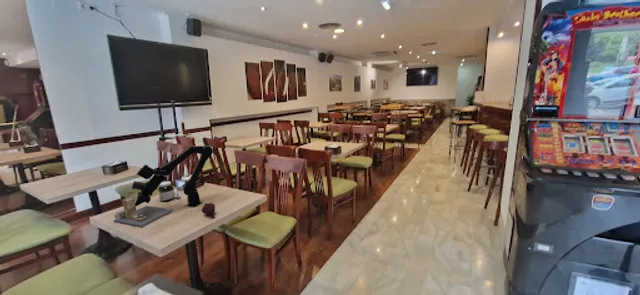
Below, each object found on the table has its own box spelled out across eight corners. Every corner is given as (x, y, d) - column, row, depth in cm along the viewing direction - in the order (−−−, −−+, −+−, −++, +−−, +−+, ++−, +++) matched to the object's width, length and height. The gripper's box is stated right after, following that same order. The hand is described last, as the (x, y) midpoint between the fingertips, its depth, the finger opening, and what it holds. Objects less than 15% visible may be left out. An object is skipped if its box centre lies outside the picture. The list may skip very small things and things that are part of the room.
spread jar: (157, 200, 173) (154, 183, 171) (175, 194, 182) (172, 178, 180) (166, 204, 167) (163, 186, 164) (184, 197, 176) (181, 181, 173)
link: (147, 218, 145) (144, 200, 143) (140, 221, 141) (136, 203, 139) (129, 213, 151) (126, 196, 149) (122, 216, 148) (118, 199, 145)
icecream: (196, 201, 152) (203, 213, 141) (209, 195, 156) (216, 206, 144) (201, 211, 155) (207, 223, 143) (213, 205, 159) (221, 216, 147)
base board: (172, 211, 155) (172, 209, 155) (141, 227, 138) (141, 225, 137) (146, 207, 162) (146, 205, 162) (114, 222, 145) (113, 220, 145)
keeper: (144, 220, 143) (143, 214, 142) (110, 225, 138) (109, 219, 138) (152, 209, 156) (150, 204, 155) (121, 214, 152) (120, 208, 151)
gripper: (141, 172, 155) (122, 193, 152) (138, 180, 139) (117, 205, 136) (159, 181, 160) (141, 203, 157) (158, 191, 145) (138, 215, 142)
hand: (134, 206), depth 148 cm, fingers closed
